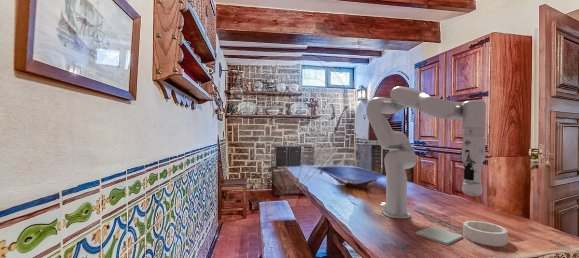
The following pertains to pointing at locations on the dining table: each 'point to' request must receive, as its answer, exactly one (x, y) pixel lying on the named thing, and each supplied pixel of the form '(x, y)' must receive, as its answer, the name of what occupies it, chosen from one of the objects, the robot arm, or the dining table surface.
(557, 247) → the dining table surface
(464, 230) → the bowl
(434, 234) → the mat
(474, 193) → the plastic bottle
